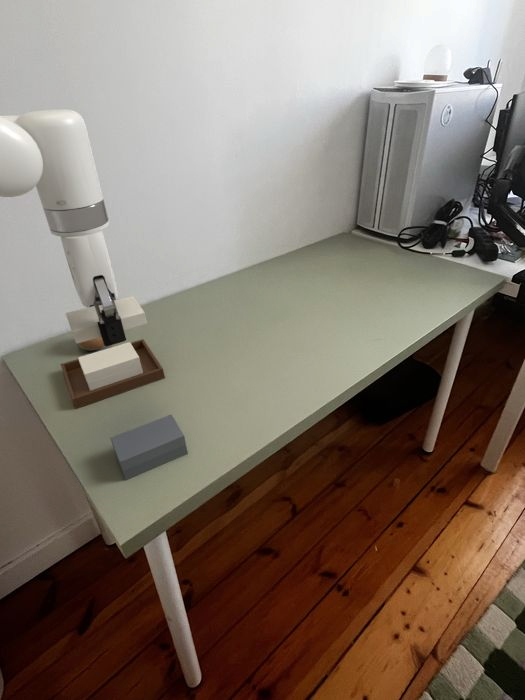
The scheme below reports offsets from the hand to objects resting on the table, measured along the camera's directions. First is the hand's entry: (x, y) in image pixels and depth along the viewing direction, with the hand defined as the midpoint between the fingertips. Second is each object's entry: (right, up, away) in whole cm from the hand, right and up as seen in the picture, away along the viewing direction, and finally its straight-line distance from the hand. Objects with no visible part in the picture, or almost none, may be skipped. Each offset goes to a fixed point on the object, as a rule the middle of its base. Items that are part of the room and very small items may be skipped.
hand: (109, 331), depth 67 cm
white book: (0, +1, -1) cm, 1 cm away
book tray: (-6, -8, +20) cm, 23 cm away
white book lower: (-6, -8, +20) cm, 22 cm away
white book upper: (-7, -6, +19) cm, 21 cm away
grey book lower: (+6, -20, +2) cm, 21 cm away
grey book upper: (+6, -18, +1) cm, 19 cm away
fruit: (-14, -2, +30) cm, 33 cm away
